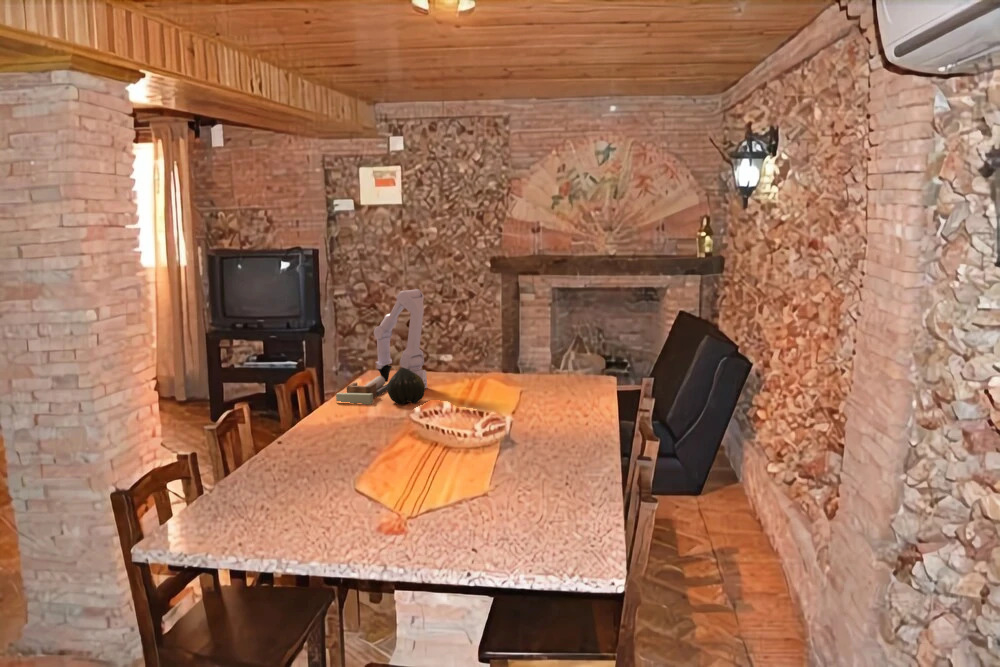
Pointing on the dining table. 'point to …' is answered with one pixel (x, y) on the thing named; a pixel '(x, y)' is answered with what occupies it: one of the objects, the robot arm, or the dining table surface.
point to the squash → (406, 387)
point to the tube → (377, 382)
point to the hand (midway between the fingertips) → (385, 381)
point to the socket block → (362, 389)
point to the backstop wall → (355, 397)
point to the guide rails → (382, 390)
